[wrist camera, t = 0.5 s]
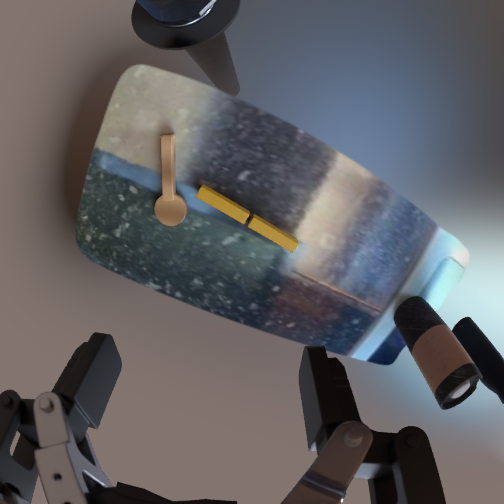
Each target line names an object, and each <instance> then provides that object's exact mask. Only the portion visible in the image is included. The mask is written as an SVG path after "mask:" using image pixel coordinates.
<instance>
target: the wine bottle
mask: <svg viewBox="0 0 504 504" xmlns="http://www.w3.org/2000/svg"><path fill="white" fill-rule="evenodd" d="M452 332H453V334H454V335H455V337H456V338H457V339H458V341H459V342H460V343H461V345H462V346H463V348H464V349H465V351H466V352H467V353H468V355H469V356H470V358H471V359H472V361H473V362H474V364H475V365H476V367H477V368H478V370H479V371H480V373H481V375H482V378H480V380H481V382H482V383H483V384H484V385H485V386H486V387H487V388H488V389H490V390H491V391H493V392H494V393H496V394H497V395H498V397H499V398H500V400H501V402H502V403H503V404H504V359H503V357H502V356H501V355H500V353H499V352H498V351H497V350H496V348H495V347H494V346H493V345H492V343H491V342H490V341H489V340H488V338H487V337H486V336H485V335H484V333H483V332H482V331H481V330H480V329H479V327H478V326H477V325H476V324H475V323H474V321H473V320H472V319H471V318H470V317H465V318H463V319H461V320H460V321H459V322H458V323H457V324H456V325H455V326H454V328H453V330H452Z"/></svg>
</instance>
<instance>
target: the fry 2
mask: <svg viewBox="0 0 504 504" xmlns="http://www.w3.org/2000/svg"><path fill="white" fill-rule="evenodd" d="M248 227H249V228H251V229H253V230H255V231H256V232H258V233H260V234H261V235H263V236H265V237H267V238H268V239H270V240H272V241H273V242H275V243H277V244H278V245H280V246H282V247H283V248H285V249H287V250H289V251H290V252H292V253H293V252H294V250H295V249H296V248H297V246H298V245H299V243H298V241H297V240H296V239H295V238H293V237H291V236H290V235H288V234H287V233H285V232H283V231H282V230H280V229H278V228H277V227H275V226H273V225H272V224H270V223H268V222H267V221H265V220H263V219H262V218H260V217H258V216H257V215H255V214H253V216H252V218H251V219H250V221H249V222H248Z"/></svg>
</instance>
